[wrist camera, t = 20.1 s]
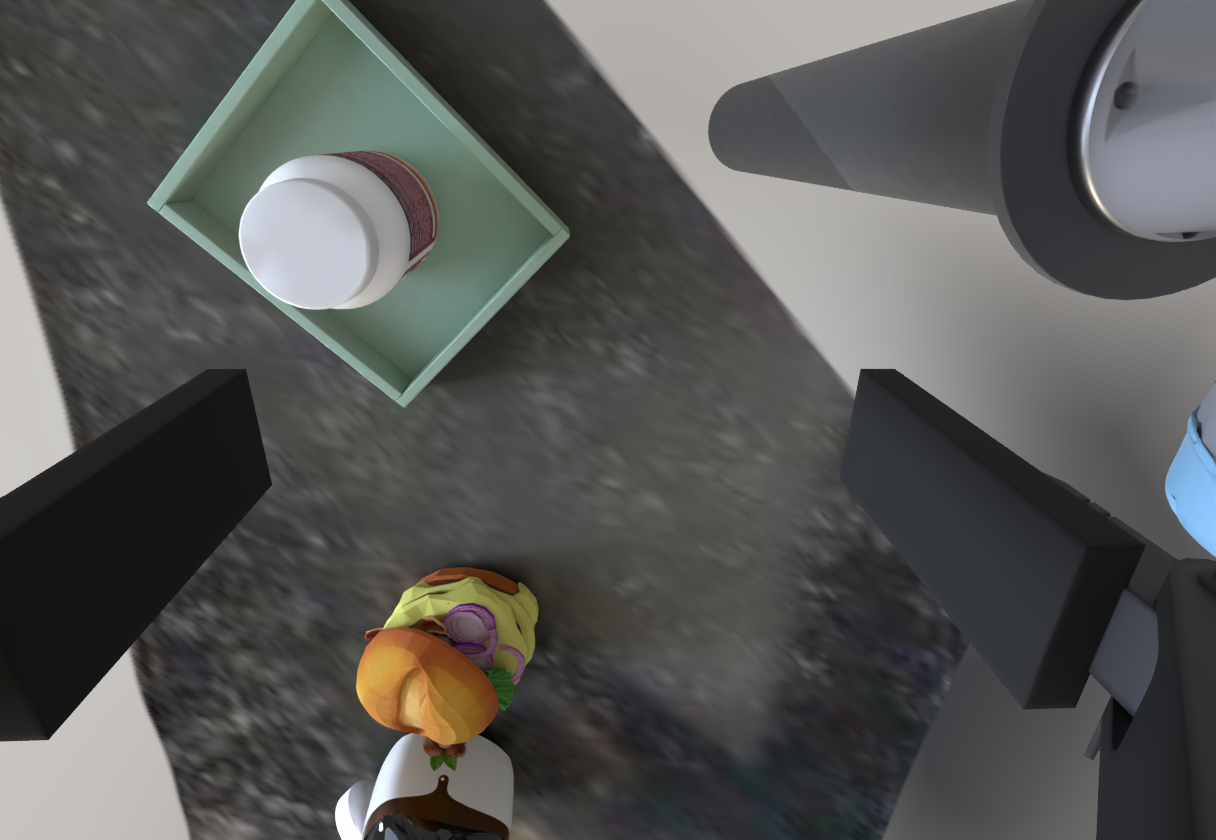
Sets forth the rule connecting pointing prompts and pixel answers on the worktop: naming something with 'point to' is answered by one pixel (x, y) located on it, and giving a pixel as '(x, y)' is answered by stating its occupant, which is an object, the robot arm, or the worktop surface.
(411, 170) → the pill bottle
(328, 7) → the tray
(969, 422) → the robot arm
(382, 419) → the worktop surface
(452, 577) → the cheeseburger
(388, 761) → the spread jar
